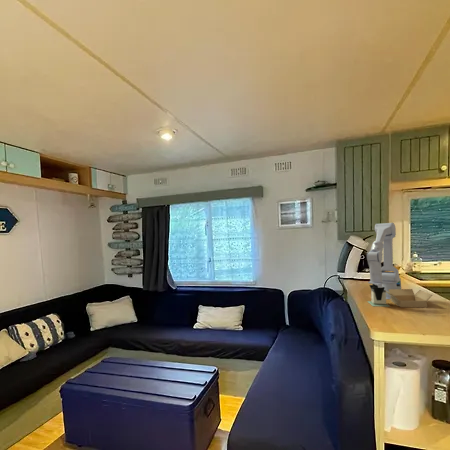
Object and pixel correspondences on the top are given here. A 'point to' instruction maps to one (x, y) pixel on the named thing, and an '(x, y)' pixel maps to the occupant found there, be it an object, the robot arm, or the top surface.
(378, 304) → the pad
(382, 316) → the top surface
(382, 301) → the block
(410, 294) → the carton
